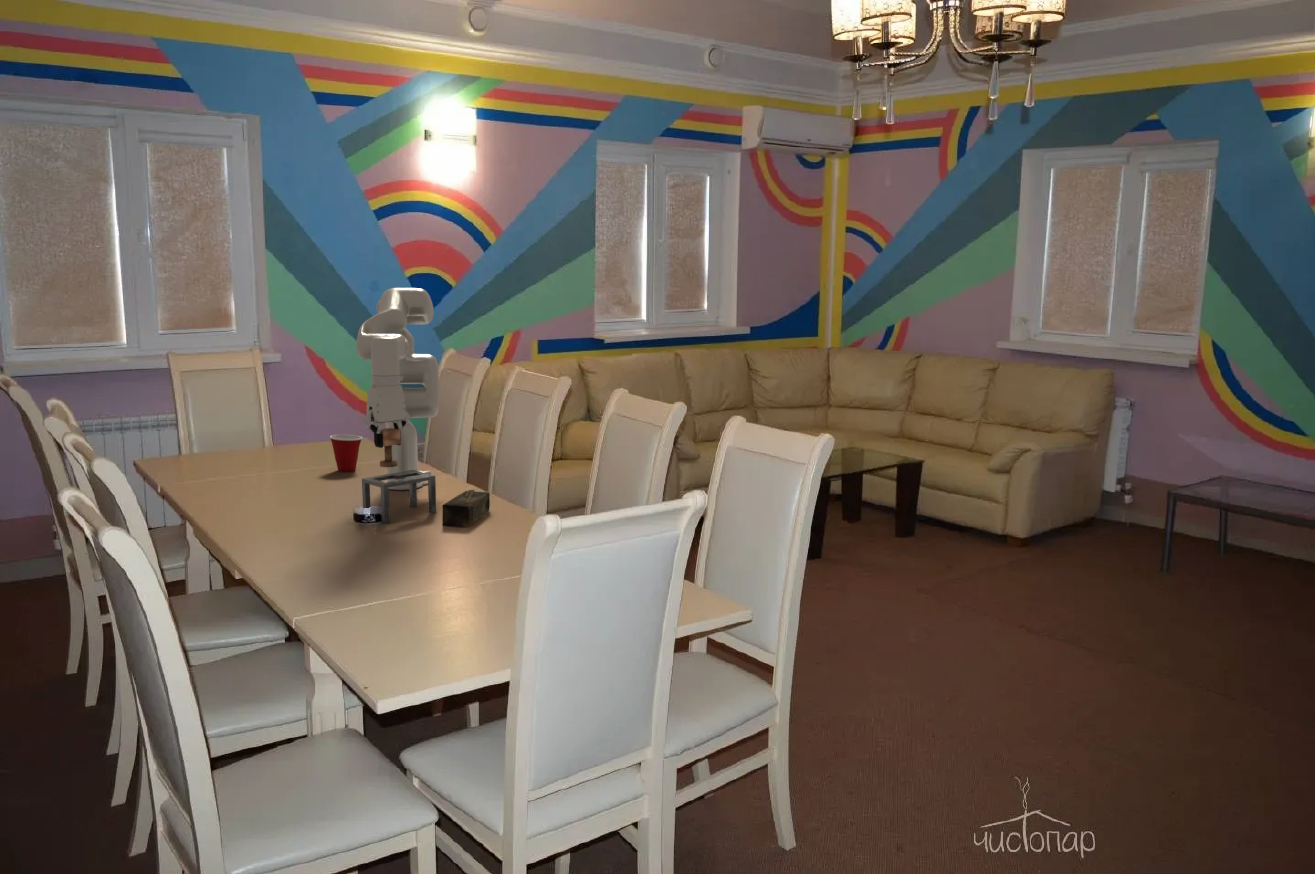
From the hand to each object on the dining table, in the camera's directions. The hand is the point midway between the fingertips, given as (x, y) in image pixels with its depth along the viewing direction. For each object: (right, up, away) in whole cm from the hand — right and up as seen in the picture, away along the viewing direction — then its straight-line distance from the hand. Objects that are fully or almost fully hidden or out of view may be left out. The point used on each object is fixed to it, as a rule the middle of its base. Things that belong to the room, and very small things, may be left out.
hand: (387, 445), depth 283 cm
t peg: (0, -6, +1) cm, 6 cm away
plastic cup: (-31, -9, +63) cm, 71 cm away
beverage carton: (+21, -21, +4) cm, 30 cm away
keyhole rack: (+2, -20, +6) cm, 21 cm away
